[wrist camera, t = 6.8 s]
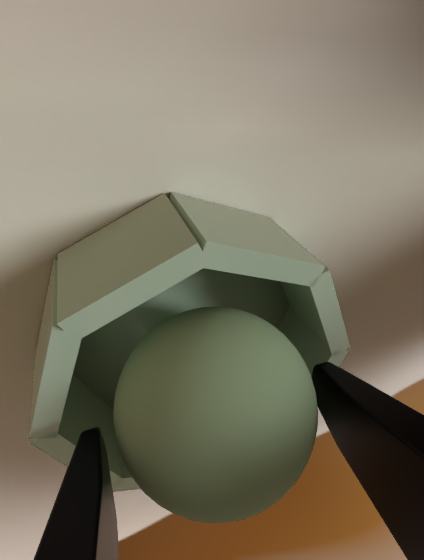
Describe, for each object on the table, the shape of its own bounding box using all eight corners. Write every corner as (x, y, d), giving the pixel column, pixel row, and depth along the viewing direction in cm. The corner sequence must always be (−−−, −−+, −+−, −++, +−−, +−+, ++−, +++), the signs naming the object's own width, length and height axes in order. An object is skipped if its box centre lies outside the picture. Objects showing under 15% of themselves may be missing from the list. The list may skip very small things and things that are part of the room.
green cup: (246, 146, 10) (306, 180, 7) (313, 334, 15) (362, 390, 12) (-28, 301, 10) (-56, 388, 7) (134, 439, 15) (148, 517, 12)
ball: (229, 238, 10) (342, 371, 6) (280, 347, 13) (377, 483, 9) (65, 333, 10) (71, 534, 6) (155, 421, 13) (199, 591, 9)
